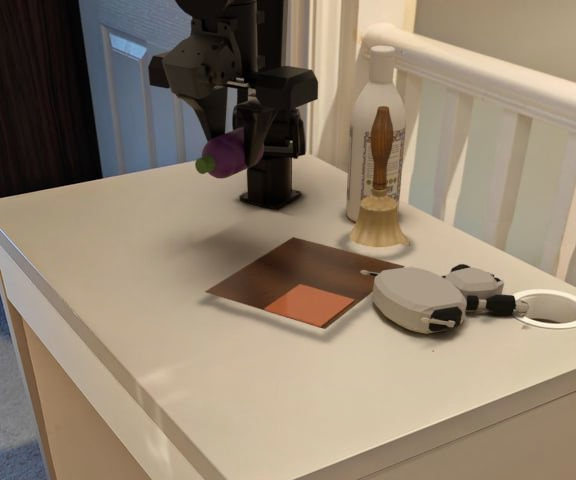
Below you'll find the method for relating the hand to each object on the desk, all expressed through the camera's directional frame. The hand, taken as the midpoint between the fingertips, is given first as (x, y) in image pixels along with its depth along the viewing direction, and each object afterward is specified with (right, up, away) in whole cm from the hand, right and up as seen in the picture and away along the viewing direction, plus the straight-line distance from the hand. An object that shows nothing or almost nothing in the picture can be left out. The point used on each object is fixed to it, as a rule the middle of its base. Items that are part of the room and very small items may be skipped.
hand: (234, 162), depth 93 cm
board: (+8, -14, +1) cm, 16 cm away
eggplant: (0, -1, +1) cm, 1 cm away
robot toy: (+23, -18, -4) cm, 29 cm away
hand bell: (+17, -6, +11) cm, 21 cm away
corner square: (+8, -17, -5) cm, 20 cm away
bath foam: (+17, 0, +18) cm, 25 cm away
